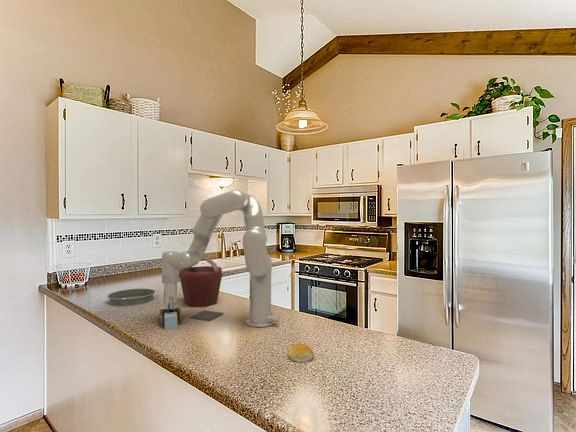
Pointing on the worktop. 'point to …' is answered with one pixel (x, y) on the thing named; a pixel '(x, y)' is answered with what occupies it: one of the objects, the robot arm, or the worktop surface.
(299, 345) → the bread roll
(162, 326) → the shelf bay
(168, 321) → the block
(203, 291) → the bucket
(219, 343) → the worktop surface
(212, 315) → the mat
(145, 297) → the cake pan
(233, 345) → the worktop surface
